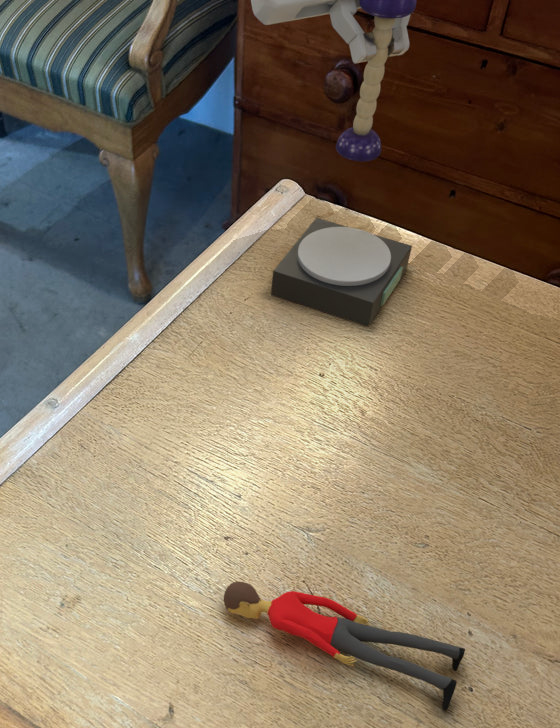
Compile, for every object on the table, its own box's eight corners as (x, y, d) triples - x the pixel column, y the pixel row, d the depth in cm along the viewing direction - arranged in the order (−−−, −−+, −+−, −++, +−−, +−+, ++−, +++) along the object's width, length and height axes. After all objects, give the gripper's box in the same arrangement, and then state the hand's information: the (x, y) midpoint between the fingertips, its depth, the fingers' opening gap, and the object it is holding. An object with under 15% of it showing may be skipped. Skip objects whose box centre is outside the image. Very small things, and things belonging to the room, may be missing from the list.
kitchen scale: (408, 270, 97) (415, 241, 94) (370, 327, 91) (376, 298, 88) (313, 241, 100) (317, 212, 97) (270, 294, 94) (273, 265, 92)
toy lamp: (393, 158, 83) (439, -43, 70) (351, 169, 82) (390, -34, 69) (364, 135, 86) (403, -64, 73) (323, 145, 85) (355, -55, 72)
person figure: (450, 678, 68) (228, 604, 72) (466, 636, 66) (237, 563, 71) (445, 717, 64) (209, 635, 68) (462, 673, 62) (218, 592, 66)
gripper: (244, -122, 70) (284, 61, 72) (473, -155, 73) (505, 20, 75) (220, -76, 76) (258, 92, 78) (433, -109, 80) (464, 52, 82)
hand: (382, 56), depth 77 cm, fingers closed on toy lamp
